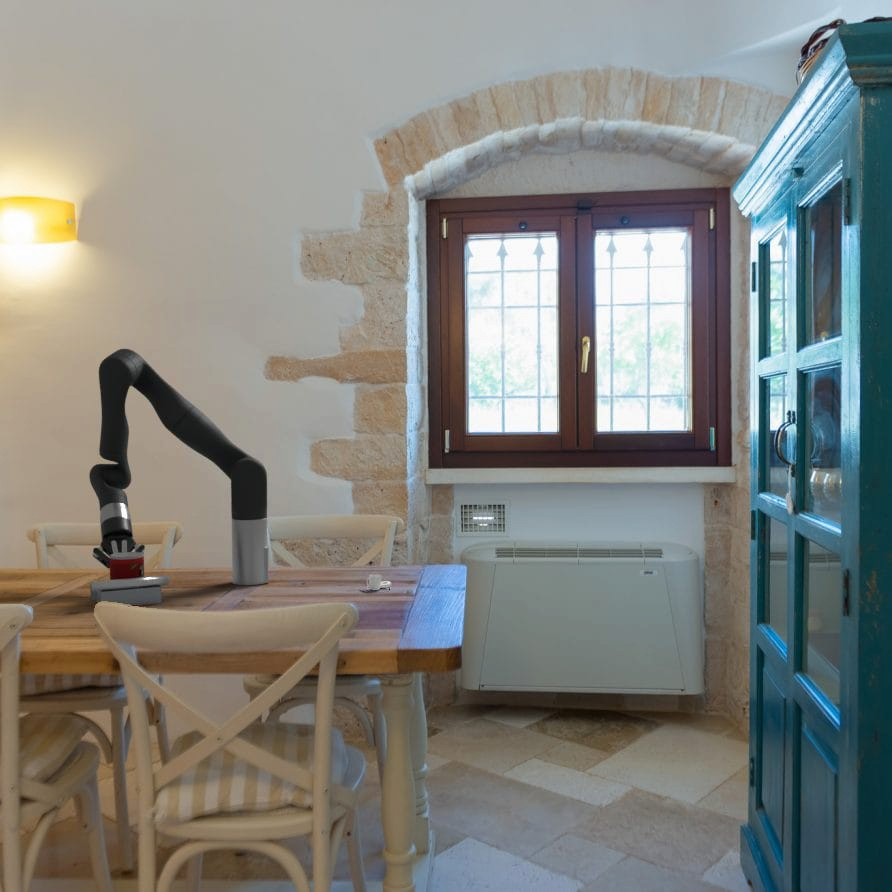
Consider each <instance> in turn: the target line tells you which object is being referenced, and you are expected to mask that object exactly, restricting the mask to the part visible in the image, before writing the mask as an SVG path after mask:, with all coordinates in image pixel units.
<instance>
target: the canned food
mask: <svg viewBox="0 0 892 892" xmlns="http://www.w3.org/2000/svg"><path fill="white" fill-rule="evenodd" d="M109 558H110V569H109V580H117V579H128V578H140V577H145V555H144V553H140V552H134V551H132V552H122V553H115V554H111V555H110V557H109Z"/></svg>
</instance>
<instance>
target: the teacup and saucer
mask: <svg viewBox="0 0 892 892" xmlns="http://www.w3.org/2000/svg"><path fill="white" fill-rule="evenodd" d="M365 583H366V586H367V587H369V588H368V589H370V590H371V589H380V587H389V586H390V587H392V582H391V581H388V580H384V581H383V580H382V574H377V573H376V574H370V575H368V578H367V579H366V582H365ZM390 587H389V588H390ZM380 590H381V589H380Z"/></svg>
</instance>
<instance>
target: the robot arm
mask: <svg viewBox="0 0 892 892" xmlns="http://www.w3.org/2000/svg"><path fill="white" fill-rule="evenodd" d="M98 382H99V384H98V385H99V390H100V391H99V393H100V405H101V406H100V407H101V427H100V429H101V430H100V438H99V439H100V440H99V447H98V449H99V456H100V457H101V458H102V459H104V460H106V461H109V462H113V463H97V464H95V465H93V466H92V467H91V469H90V470H89V474H88V475H89V476H88V477H89V482H90V485H91V487H92V489H93V491H94V492H95V495H96V498H97V499H98V504H99V525H100V534H101V543H100V546H99V547H94V548H93V551H92V557H93V558H94V559H95V560H97V561H98V562H99V563H100V564H102V565H103V566H104V567H105V568H107V569H109V570H110V555H111V554H115V553H122V552H140V553H143V554H144V553H145V549H146V548H145V544H141V545H140V544H137V542H136V540H135V539H134V534H133V526H132V517H131V513H130V510H129V503H128V496H127V493H126V492H125V491H124V490H126V489H128V487H130V485H131V483H132V473H131V468H130V464H129V458H128V448H129V447H128V446H129V436H130V427H129V423H128V419H127V415H126V399H127V398H128V397H127V396H128V392H129V390H130V387H133V388H134V389H135V390H137V391H138V392H139V393H140V394H141V395H142V396H144V397H145V398H146V399H147V401H149V403H150V404H151V406H152V408H153V409H154V411H155V414H156V415H157V417H158V418H159V420H160V422H161V423H162V425H163V426H164V427H165V429H167V431H168V432H170V433H171V435H173V436H175V437H176V438H177V439H178V440H179V441H180V442H182V443H183V444H184V445H186V446H187V447H188V448H190V449H192V450H193V451H195V452H196V453H198V454H199V455H201V456H203V457H204V458H206V459H208V460H209V461H211V462H212V463H213V464H214V465H215V466H216V467H218V468H219V469H220V470H221V471H222V472H223V473H224V474H225V475H226V476H227V478H228V479H229V480H230V496H231V497H230V498H231V499H230V501H231V503H230V507H231V510H230V511H231V559H232V560H231V561H232V562H231V565H232V567H231V568H232V569H231V570H232V574H231V575H232V576H231V577H232V584H233V585H237V586H256V585H263V584H269V583H270V574H269V573H270V572H269V567H270V566H269V564H270V563H269V546H268V476H267V475H268V474H267V470H266V468H265V465H264V464H263V463H262V462H261V461H260V460H259V459H256V458H255V457H253V456H252V455H251V454H248V453H247V452H245V451H244V450H243V449H241V448H240V447H239V446H237V445H236V444H235V443H233V441H231V440H230V439H229V438H228V437H227V436H226V435H225V433H223V431H222V430H221V429H220V428H219V427H218V426H217V425H216V424H215V423H214V422H213V421H212V420H211V419H210V418H209V417H208V416H207V415H206V414H205V413H203V411H201V410H200V409H199V408H198V407H197V406H195V405H194V404H193V403H191V402H190V400H188V399H187V398H185V397H184V396H183V395H182V394H181V393H179V391H177V390H176V389H175V388H174V387H173V386H172V385H170V383H168V382H167V381H166V380H165V379H164V378H163V377H162V376H161V375H160V374H159V373H158V372H157V371H156V370H155V369H154V368H153V367H152V366H151V365H150V363H148V362H147V361H146V359H144V358H143V356H141V355H140V354H139V353H138V352H136V351H135V350H132V349H129V348H121V349H117V350H116V351H114V352H113V353H111V354H110V355H107V356H106V357H105V358H103V360H101V362H100V364H99V366H98Z"/></svg>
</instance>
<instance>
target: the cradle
mask: <svg viewBox="0 0 892 892" xmlns="http://www.w3.org/2000/svg"><path fill="white" fill-rule="evenodd" d="M169 580H170V579H169V575H168V574H166V575H153V576H144V577H140V578H128V579H117V580H110V579H106V580H105V579H104V580H96V581H95V580H94V581H91V582H90V586H89V587H90V588H89V589H90V600H91V601H96V602H101V601H108V602H117V603H123V604H130V605H138V606H146V605H147V606H149V605H157V604H159V605H160V604H162V601H163V600H162V587H163V586H164V587H165V586H169V584H170V581H169Z"/></svg>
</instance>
